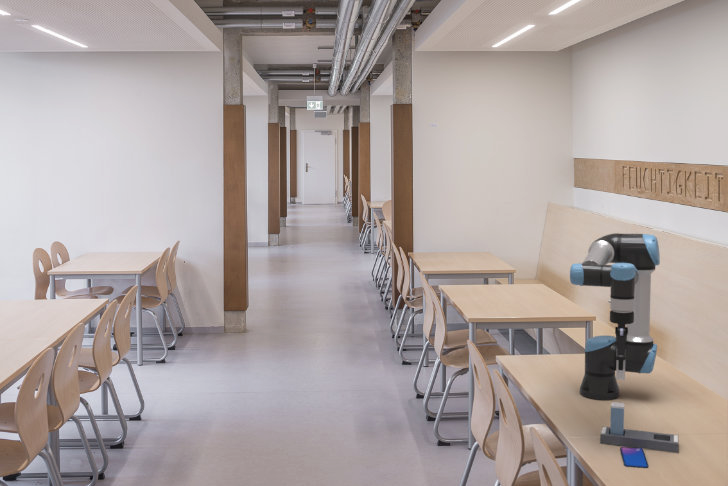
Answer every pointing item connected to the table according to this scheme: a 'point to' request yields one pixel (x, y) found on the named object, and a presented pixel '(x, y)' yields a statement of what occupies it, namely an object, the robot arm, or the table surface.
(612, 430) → the plug
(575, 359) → the table surface
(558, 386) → the table surface
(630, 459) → the smartphone
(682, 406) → the table surface
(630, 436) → the panel
